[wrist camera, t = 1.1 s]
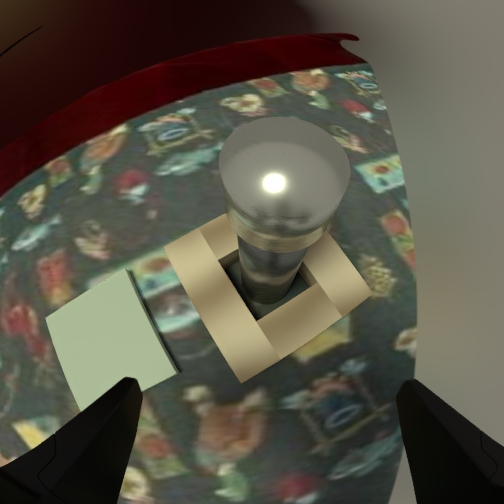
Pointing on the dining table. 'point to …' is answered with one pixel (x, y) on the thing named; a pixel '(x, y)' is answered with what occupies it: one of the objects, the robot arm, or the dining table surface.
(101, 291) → the pad
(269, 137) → the dome-ended metal peg
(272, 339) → the socket block
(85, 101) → the dining table surface
